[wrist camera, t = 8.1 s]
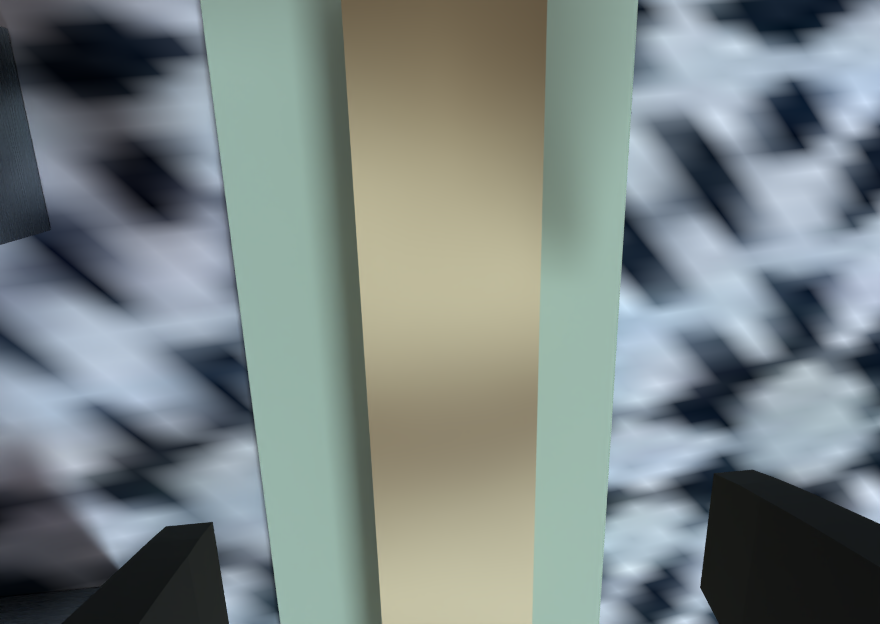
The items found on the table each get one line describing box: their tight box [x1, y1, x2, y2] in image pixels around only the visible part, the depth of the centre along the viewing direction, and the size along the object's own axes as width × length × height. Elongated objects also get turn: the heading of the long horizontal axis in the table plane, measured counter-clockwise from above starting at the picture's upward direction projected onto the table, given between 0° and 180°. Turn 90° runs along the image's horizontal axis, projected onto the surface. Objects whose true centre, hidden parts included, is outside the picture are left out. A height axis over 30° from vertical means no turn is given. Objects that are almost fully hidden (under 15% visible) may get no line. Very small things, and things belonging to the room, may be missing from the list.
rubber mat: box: [200, 0, 638, 624], centre depth 13 cm, size 20×8×1 cm, turn 2°
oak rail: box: [341, 0, 547, 624], centre depth 12 cm, size 16×3×2 cm, turn 1°
